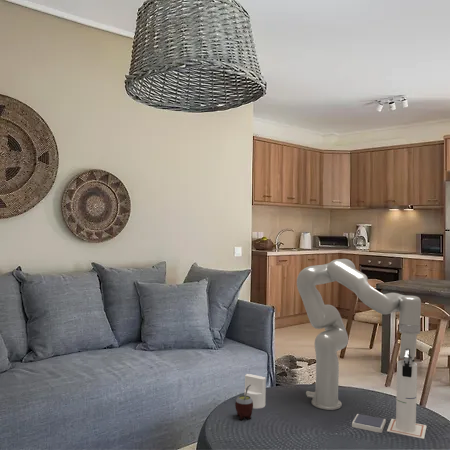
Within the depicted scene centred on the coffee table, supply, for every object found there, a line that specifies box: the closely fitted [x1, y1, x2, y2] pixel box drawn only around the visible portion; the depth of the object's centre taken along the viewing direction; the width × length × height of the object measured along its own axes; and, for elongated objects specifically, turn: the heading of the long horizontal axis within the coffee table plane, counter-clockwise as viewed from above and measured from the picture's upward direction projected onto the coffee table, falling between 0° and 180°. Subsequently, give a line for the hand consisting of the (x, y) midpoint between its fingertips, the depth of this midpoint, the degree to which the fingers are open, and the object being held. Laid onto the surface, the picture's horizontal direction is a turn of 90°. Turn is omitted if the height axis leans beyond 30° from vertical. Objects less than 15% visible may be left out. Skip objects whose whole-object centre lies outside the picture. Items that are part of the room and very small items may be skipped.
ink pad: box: [351, 413, 387, 434], centre depth 189 cm, size 11×10×2 cm
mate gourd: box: [234, 385, 254, 421], centre depth 193 cm, size 8×8×15 cm
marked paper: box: [386, 418, 427, 440], centre depth 186 cm, size 13×13×1 cm
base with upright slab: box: [244, 373, 267, 410], centre depth 208 cm, size 9×9×12 cm
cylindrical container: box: [395, 359, 418, 432], centre depth 186 cm, size 7×7×25 cm
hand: (408, 373), depth 186 cm, fingers open, 9 cm apart
